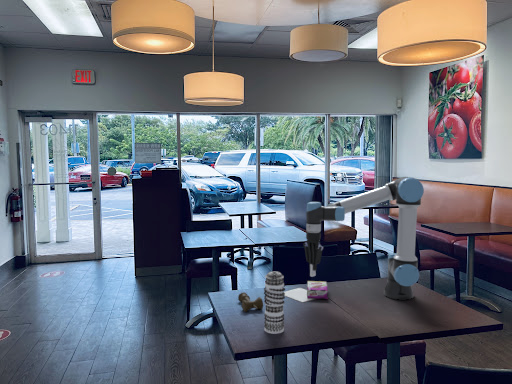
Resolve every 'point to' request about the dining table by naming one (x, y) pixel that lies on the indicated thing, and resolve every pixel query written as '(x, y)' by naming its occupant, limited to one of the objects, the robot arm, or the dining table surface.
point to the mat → (298, 295)
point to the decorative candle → (274, 303)
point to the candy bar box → (317, 290)
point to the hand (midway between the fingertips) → (312, 276)
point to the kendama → (250, 302)
